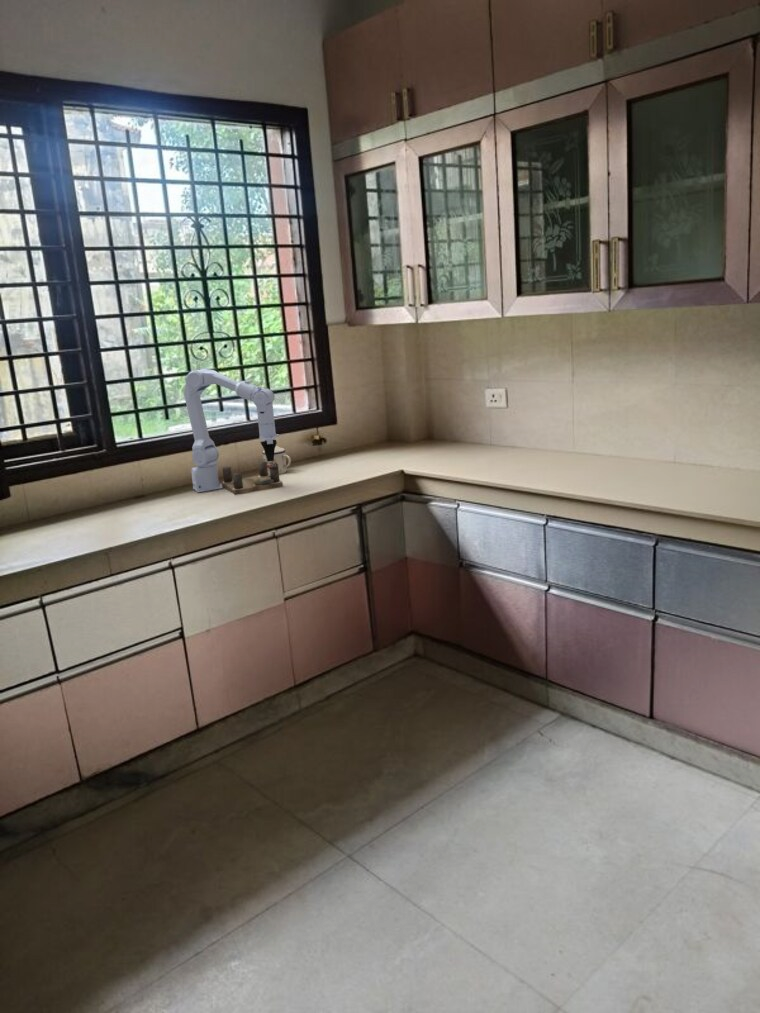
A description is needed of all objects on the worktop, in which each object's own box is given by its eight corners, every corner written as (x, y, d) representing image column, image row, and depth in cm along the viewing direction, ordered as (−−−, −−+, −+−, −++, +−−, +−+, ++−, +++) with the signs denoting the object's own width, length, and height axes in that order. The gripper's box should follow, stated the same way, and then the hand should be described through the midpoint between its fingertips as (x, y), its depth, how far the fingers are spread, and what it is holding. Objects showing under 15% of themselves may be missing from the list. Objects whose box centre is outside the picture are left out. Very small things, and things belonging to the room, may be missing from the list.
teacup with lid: (260, 474, 308) (256, 445, 305) (273, 469, 316) (270, 441, 313) (285, 475, 303) (282, 446, 300) (298, 470, 310) (295, 442, 307)
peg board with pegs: (235, 494, 277) (232, 475, 275) (221, 485, 293) (219, 467, 291) (283, 486, 284) (281, 467, 282) (268, 478, 300) (266, 460, 299)
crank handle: (256, 485, 280) (254, 470, 279) (253, 483, 283) (251, 468, 282) (281, 480, 284) (279, 465, 283) (277, 479, 287) (276, 464, 286)
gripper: (279, 424, 270) (283, 463, 274) (275, 419, 284) (279, 456, 287) (259, 427, 269) (263, 465, 272) (256, 421, 282) (260, 458, 286)
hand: (270, 460), depth 280 cm, fingers closed
